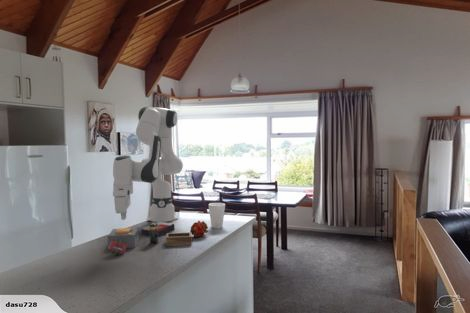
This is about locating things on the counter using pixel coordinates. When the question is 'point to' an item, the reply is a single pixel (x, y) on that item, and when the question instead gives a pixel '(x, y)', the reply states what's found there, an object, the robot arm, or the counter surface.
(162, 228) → the calculator
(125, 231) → the button
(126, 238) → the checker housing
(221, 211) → the foam cup
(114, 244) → the geometric puzzle
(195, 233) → the dragon fruit
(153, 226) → the battery cell
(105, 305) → the counter surface
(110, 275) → the counter surface
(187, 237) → the box
